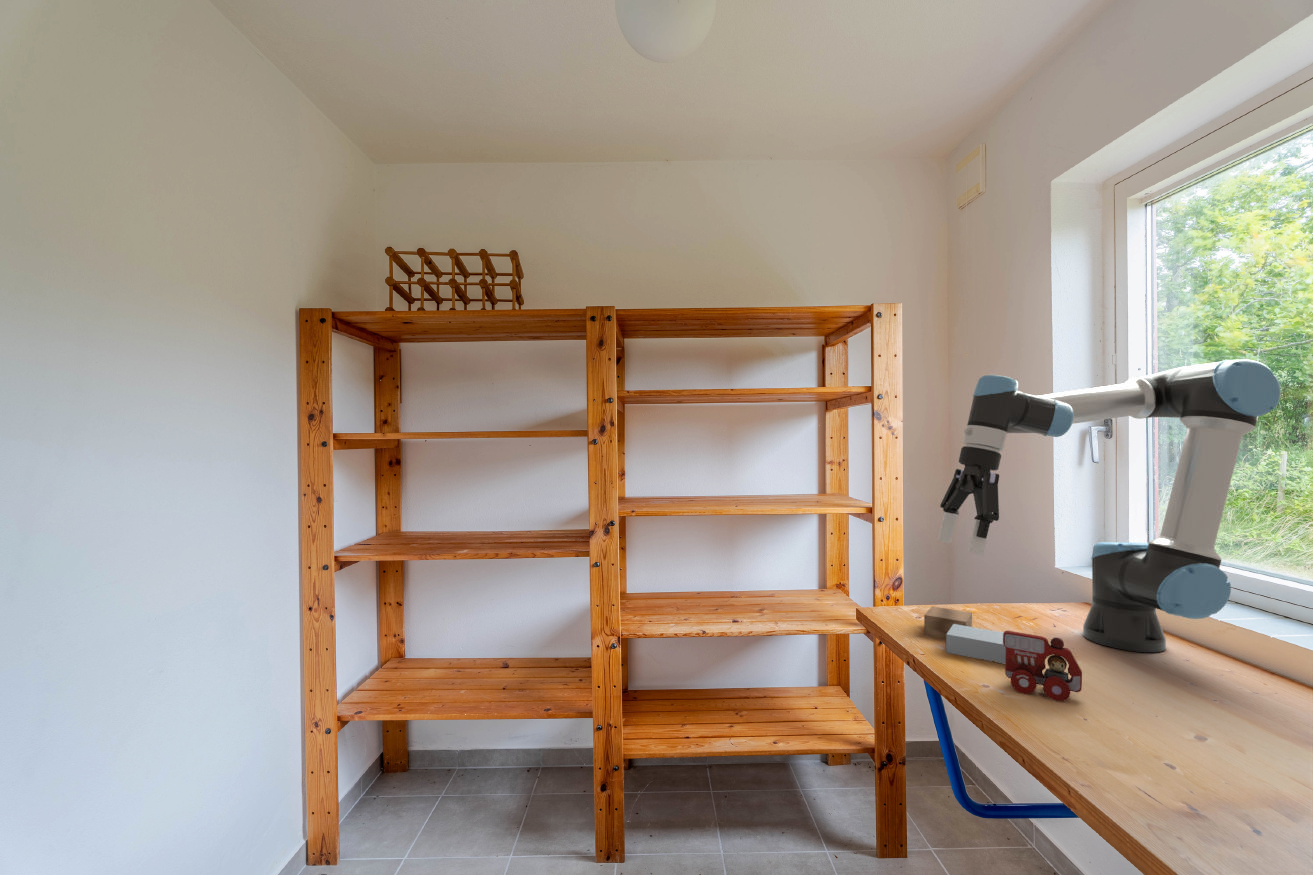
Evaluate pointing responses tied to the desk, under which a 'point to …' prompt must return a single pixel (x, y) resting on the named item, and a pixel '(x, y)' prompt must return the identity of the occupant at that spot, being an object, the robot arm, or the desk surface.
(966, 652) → the plinth
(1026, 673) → the toy fire truck
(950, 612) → the walnut block
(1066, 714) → the desk surface
